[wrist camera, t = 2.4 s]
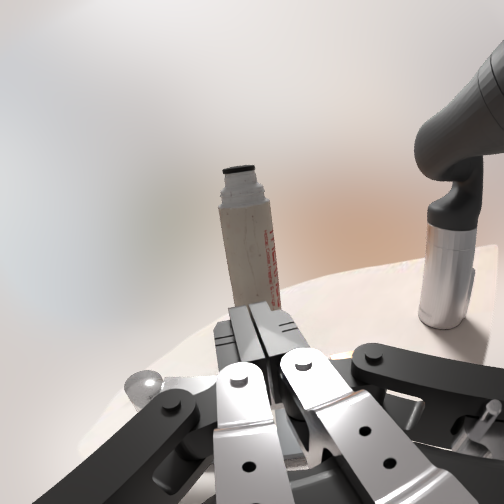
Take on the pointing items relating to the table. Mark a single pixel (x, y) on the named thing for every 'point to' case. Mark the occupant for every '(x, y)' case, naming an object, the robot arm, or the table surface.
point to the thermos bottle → (249, 239)
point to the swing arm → (178, 385)
